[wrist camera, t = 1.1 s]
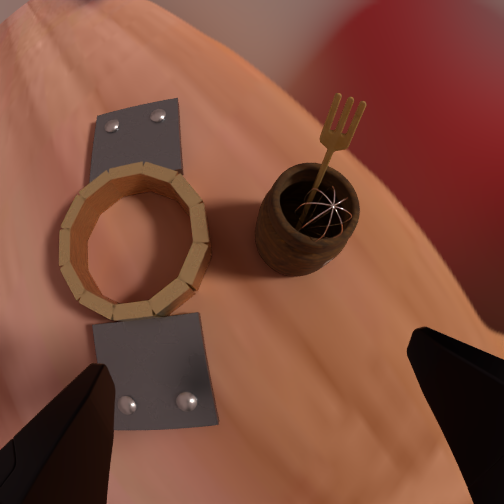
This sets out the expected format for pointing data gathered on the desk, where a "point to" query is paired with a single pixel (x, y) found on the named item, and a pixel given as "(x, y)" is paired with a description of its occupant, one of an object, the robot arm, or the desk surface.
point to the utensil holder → (310, 207)
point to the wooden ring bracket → (164, 302)
